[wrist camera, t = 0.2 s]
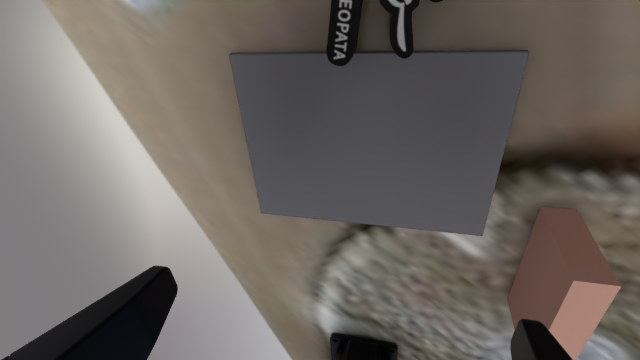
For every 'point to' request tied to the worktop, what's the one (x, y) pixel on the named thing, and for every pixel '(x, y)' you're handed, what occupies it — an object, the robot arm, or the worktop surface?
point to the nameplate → (346, 27)
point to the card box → (563, 279)
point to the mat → (379, 134)
